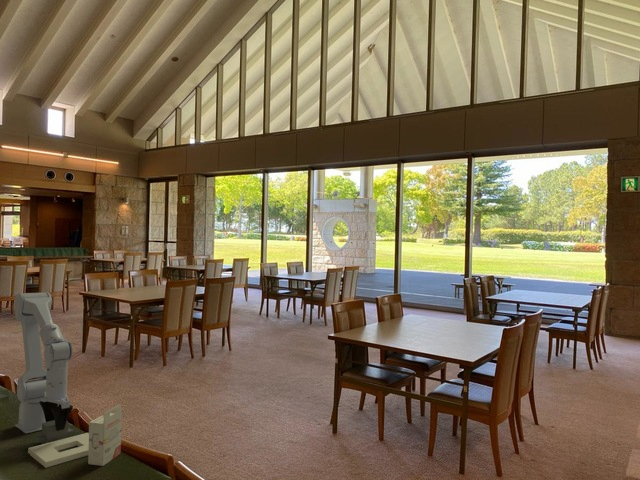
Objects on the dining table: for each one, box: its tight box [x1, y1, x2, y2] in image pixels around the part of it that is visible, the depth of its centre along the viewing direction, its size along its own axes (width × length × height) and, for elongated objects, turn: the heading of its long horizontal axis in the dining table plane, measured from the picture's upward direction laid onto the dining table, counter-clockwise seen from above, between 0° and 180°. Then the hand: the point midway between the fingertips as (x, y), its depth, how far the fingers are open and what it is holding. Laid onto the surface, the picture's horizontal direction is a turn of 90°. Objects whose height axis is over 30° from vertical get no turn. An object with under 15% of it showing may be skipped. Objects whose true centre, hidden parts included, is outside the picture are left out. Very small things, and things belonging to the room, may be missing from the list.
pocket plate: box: [27, 432, 89, 469], centre depth 145 cm, size 13×17×2 cm
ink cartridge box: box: [87, 403, 123, 467], centre depth 141 cm, size 9×5×15 cm, turn 168°
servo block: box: [34, 420, 75, 445], centre depth 151 cm, size 4×10×7 cm, turn 139°
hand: (55, 426), depth 151 cm, fingers open, 7 cm apart
